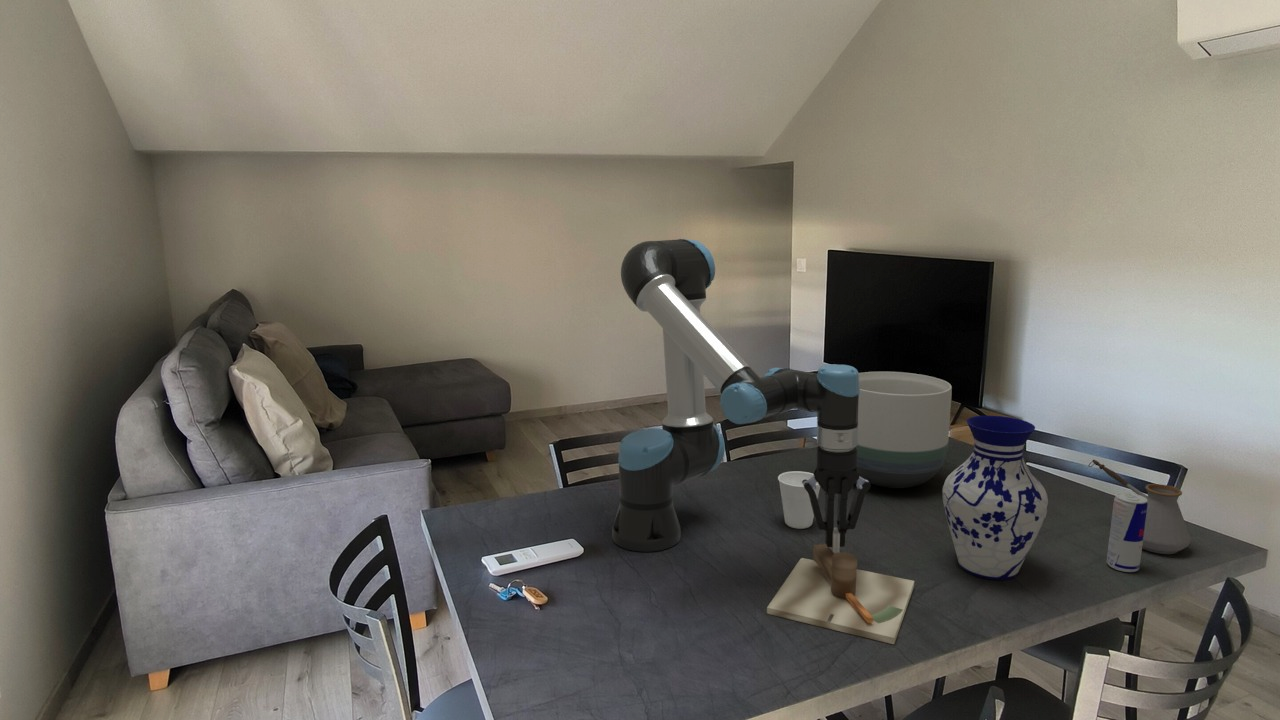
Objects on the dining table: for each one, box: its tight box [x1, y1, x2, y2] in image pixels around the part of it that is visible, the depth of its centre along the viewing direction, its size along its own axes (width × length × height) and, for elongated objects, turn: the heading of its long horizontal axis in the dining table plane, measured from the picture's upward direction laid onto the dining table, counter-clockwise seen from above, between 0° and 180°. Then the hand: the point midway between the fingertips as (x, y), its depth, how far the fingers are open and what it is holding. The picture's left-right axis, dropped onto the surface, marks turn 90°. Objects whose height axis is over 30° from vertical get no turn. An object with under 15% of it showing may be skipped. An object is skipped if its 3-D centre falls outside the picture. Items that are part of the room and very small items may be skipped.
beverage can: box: [1106, 491, 1148, 573], centre depth 152 cm, size 6×6×15 cm
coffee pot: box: [1088, 459, 1192, 555], centre depth 165 cm, size 21×12×15 cm, turn 29°
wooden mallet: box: [812, 543, 873, 623], centre depth 141 cm, size 22×4×7 cm, turn 10°
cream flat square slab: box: [766, 557, 915, 645], centre depth 141 cm, size 22×22×1 cm
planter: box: [856, 371, 953, 489], centre depth 198 cm, size 27×27×27 cm
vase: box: [942, 415, 1049, 581], centre depth 151 cm, size 19×19×30 cm
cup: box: [777, 470, 821, 530], centre depth 174 cm, size 10×10×11 cm
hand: (834, 561), depth 150 cm, fingers closed
